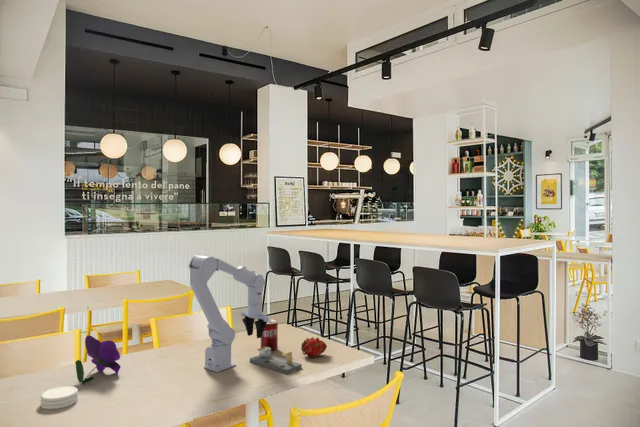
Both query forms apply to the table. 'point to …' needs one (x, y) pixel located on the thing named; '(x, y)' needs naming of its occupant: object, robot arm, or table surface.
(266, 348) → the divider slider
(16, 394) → the table surface
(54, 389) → the coaster
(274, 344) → the soda can
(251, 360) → the cube slider plate
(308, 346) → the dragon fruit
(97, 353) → the flower
